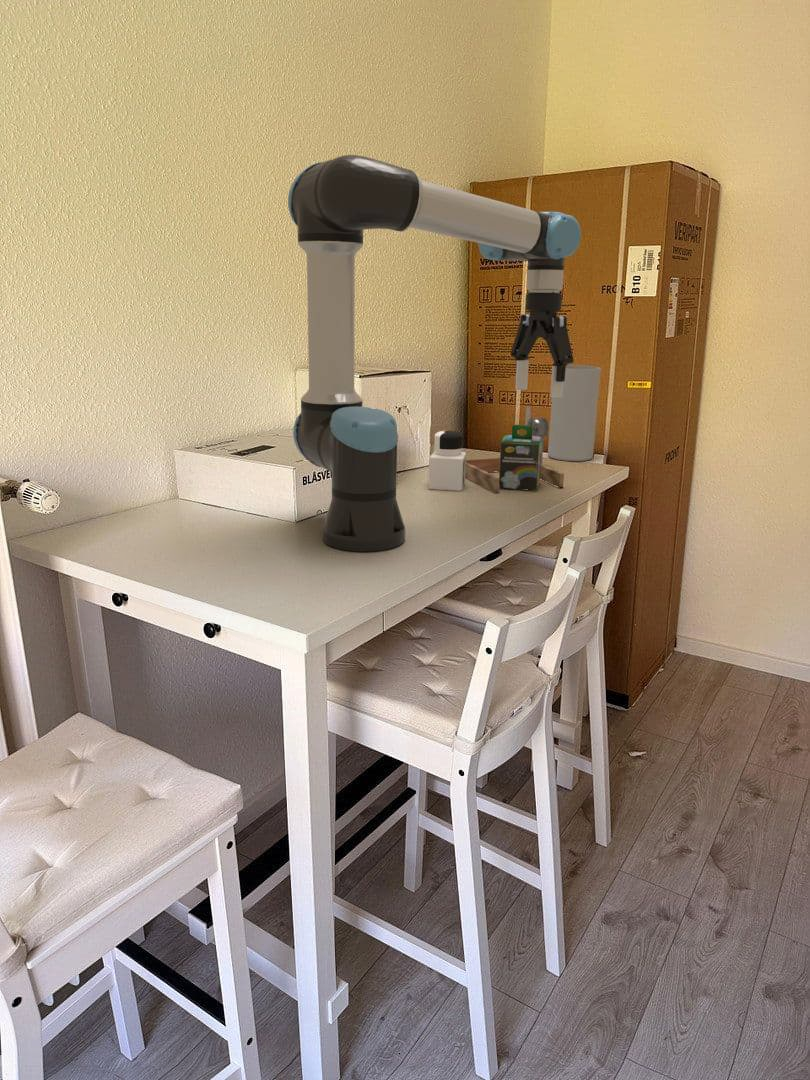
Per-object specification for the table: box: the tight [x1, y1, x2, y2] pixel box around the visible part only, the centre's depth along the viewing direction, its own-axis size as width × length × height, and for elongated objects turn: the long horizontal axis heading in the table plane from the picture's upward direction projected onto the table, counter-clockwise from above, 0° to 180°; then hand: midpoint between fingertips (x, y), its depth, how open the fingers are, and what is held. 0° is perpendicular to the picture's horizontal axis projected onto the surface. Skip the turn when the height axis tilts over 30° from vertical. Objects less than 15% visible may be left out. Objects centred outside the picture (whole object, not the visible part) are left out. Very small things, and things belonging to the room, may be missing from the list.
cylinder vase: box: [547, 364, 602, 462], centre depth 216 cm, size 12×12×25 cm
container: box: [428, 430, 467, 492], centre depth 182 cm, size 8×8×13 cm
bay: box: [465, 457, 565, 493], centre depth 190 cm, size 21×18×4 cm
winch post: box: [524, 406, 549, 465], centre depth 204 cm, size 5×5×16 cm
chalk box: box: [498, 424, 542, 491], centre depth 184 cm, size 9×9×15 cm
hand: (538, 393), depth 171 cm, fingers open, 13 cm apart
